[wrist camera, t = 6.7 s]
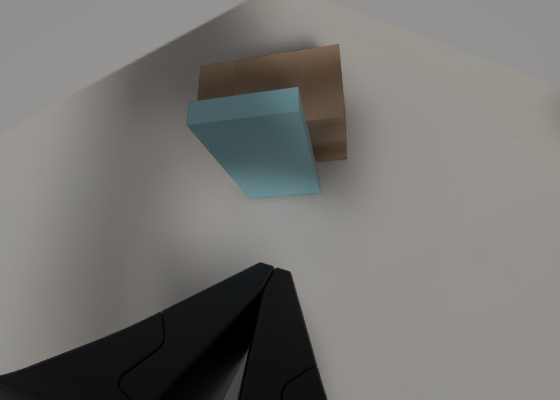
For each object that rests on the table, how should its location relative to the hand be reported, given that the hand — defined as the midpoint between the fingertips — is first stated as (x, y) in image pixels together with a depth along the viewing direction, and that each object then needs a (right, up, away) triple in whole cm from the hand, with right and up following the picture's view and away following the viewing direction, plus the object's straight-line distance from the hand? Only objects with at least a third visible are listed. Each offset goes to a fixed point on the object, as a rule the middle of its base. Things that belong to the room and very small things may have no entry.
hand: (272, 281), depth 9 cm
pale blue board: (+1, +5, +16) cm, 17 cm away
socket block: (0, +7, +17) cm, 18 cm away
